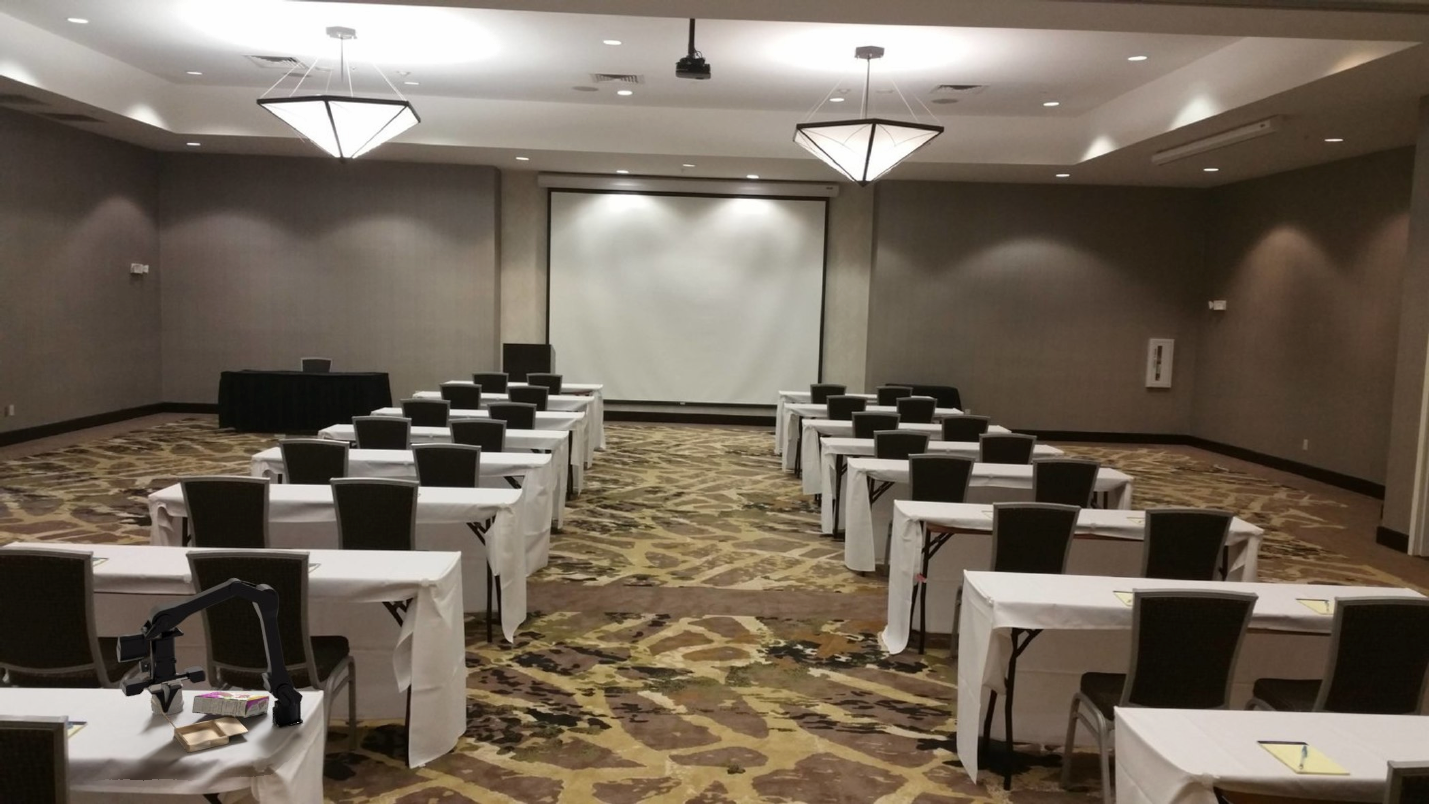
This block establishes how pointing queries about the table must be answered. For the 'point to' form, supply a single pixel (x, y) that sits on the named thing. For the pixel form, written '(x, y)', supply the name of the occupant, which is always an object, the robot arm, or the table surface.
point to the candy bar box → (230, 704)
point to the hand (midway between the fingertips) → (165, 712)
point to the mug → (175, 705)
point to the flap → (169, 720)
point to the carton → (208, 733)
